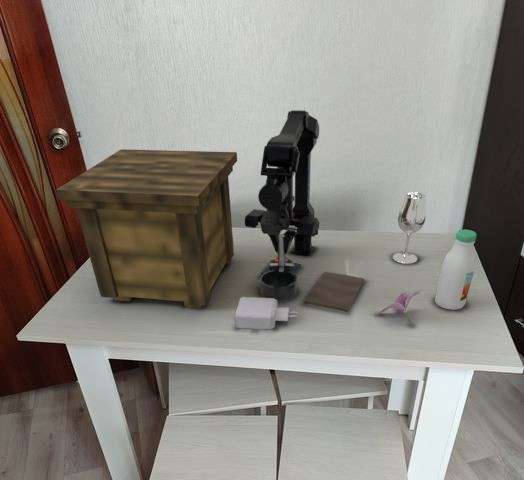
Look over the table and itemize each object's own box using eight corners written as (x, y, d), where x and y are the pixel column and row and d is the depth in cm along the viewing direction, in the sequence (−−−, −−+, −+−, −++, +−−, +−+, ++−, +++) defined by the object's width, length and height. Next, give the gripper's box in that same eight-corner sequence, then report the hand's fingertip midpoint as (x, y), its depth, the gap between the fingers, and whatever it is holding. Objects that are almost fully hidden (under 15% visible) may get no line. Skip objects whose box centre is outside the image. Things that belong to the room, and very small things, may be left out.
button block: (273, 262, 148) (273, 253, 146) (300, 267, 145) (300, 258, 143) (260, 276, 141) (260, 267, 139) (288, 282, 138) (288, 273, 136)
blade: (270, 263, 132) (269, 230, 126) (294, 263, 131) (294, 230, 125) (269, 275, 126) (268, 240, 120) (293, 275, 126) (293, 240, 120)
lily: (424, 312, 125) (413, 278, 122) (438, 321, 113) (427, 283, 111) (380, 327, 126) (369, 294, 124) (390, 337, 115) (378, 301, 113)
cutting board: (324, 274, 141) (325, 271, 140) (364, 282, 136) (364, 278, 136) (304, 304, 128) (304, 300, 127) (346, 313, 124) (347, 309, 123)
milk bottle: (449, 313, 122) (467, 241, 110) (428, 300, 127) (443, 230, 115) (471, 305, 125) (491, 234, 112) (449, 292, 130) (466, 223, 118)
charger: (295, 332, 117) (236, 329, 119) (297, 312, 125) (242, 310, 126) (295, 316, 114) (235, 314, 116) (298, 297, 122) (241, 295, 124)
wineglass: (390, 262, 146) (399, 198, 134) (394, 251, 151) (403, 189, 139) (416, 265, 143) (427, 201, 131) (419, 255, 149) (431, 192, 137)
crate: (212, 318, 124) (198, 195, 104) (91, 307, 130) (56, 189, 110) (243, 258, 151) (236, 152, 131) (141, 252, 157) (120, 149, 137)
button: (277, 260, 143) (277, 255, 142) (289, 262, 142) (289, 257, 141) (272, 266, 141) (272, 260, 140) (284, 268, 139) (284, 263, 138)
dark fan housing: (269, 281, 139) (269, 267, 136) (301, 287, 135) (302, 273, 132) (254, 297, 131) (254, 283, 129) (288, 304, 128) (288, 290, 125)
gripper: (232, 201, 114) (237, 260, 123) (305, 211, 107) (303, 272, 117) (252, 186, 122) (255, 242, 131) (321, 195, 115) (318, 253, 125)
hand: (281, 252), depth 126 cm, fingers closed on blade, 2 cm apart
